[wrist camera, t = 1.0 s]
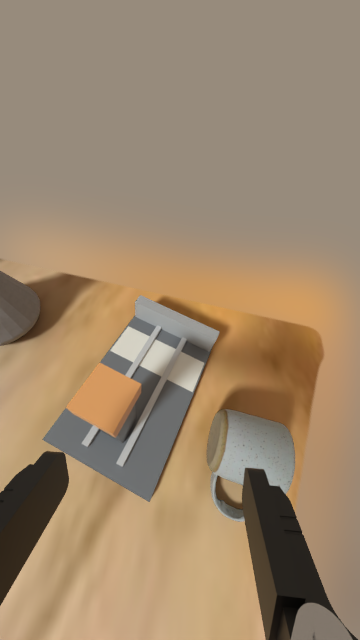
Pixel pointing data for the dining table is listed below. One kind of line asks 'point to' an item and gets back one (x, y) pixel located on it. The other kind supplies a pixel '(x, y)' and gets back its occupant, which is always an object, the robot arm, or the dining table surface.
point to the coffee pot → (16, 309)
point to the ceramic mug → (248, 453)
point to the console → (143, 397)
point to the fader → (107, 401)
